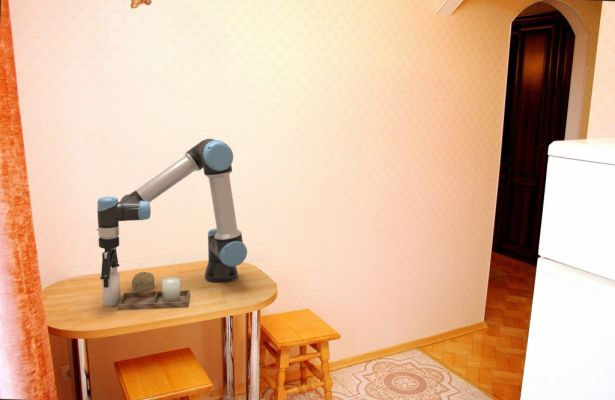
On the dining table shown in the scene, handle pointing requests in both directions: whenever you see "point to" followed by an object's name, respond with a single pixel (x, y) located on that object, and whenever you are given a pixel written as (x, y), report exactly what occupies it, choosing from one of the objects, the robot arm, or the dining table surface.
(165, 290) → the white egg-shaped capsule
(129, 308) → the tray
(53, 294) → the dining table surface
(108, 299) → the white rounded tapered cylinder
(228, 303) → the dining table surface
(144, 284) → the decorative item
